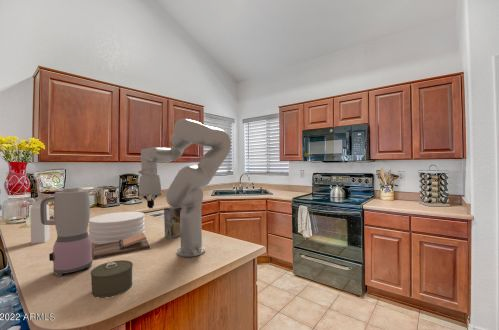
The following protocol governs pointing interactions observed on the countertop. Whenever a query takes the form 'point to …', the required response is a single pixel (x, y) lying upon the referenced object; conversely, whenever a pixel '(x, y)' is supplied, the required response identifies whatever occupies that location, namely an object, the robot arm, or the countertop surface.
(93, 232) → the plate stack
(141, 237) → the tile
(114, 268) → the can
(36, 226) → the milk
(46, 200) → the blender
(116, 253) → the walnut board
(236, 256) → the countertop surface
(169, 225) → the coffee box
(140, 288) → the countertop surface
